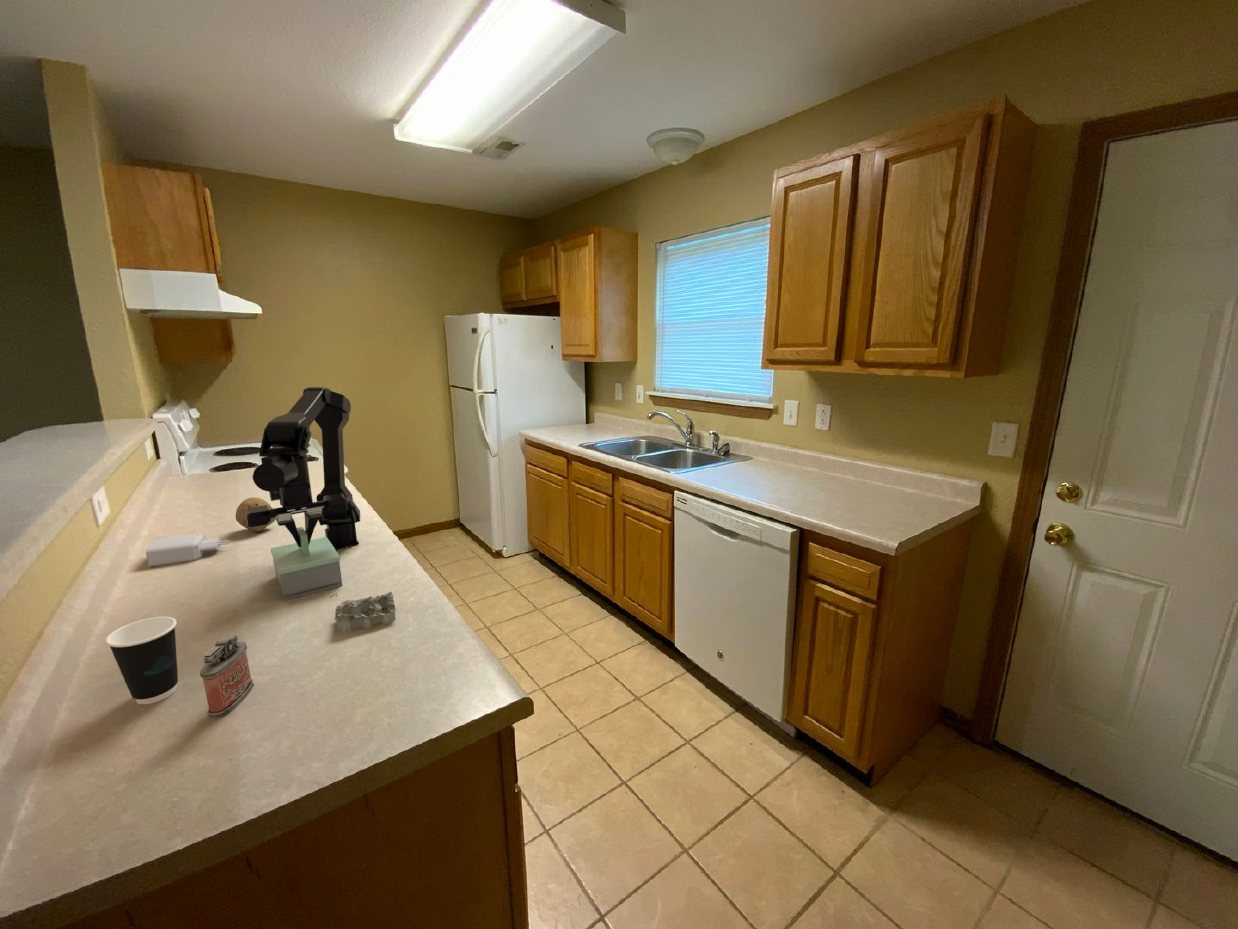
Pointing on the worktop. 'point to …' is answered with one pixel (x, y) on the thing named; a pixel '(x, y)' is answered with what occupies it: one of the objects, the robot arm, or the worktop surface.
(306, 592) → the tub
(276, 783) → the worktop surface
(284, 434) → the robot arm
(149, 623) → the dixie cup
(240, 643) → the lighter
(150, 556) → the charger
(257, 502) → the brown potato
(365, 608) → the egg carton
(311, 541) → the lid
